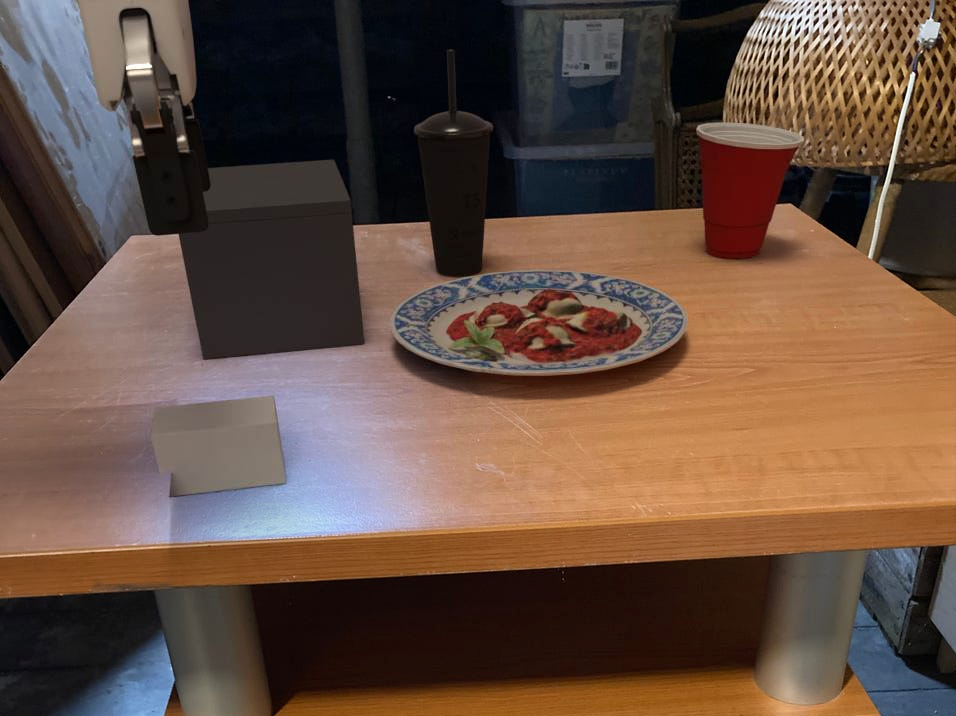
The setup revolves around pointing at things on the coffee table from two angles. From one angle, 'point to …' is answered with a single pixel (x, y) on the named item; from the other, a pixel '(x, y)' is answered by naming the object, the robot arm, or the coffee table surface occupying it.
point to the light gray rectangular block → (219, 445)
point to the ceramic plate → (539, 322)
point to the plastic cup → (742, 183)
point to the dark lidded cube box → (274, 261)
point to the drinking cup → (455, 183)
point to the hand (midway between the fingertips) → (183, 210)
